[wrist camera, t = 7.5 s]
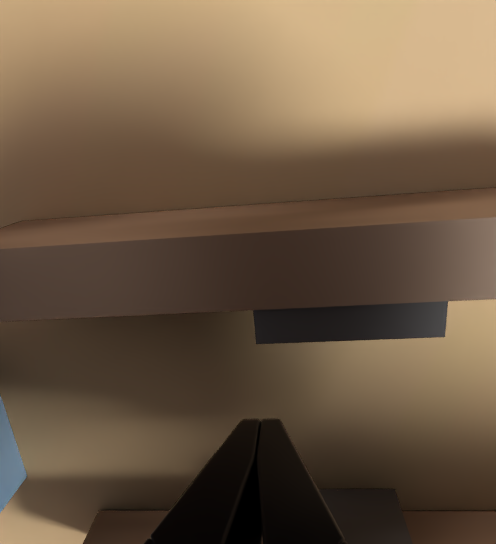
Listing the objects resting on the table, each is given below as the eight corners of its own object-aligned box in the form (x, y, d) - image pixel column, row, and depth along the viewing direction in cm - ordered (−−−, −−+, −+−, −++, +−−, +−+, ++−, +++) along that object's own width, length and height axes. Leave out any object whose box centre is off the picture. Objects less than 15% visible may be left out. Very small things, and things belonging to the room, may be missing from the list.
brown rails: (630, 178, 7) (795, 198, 5) (550, 546, 10) (629, 666, 8) (21, 221, 9) (-77, 253, 6) (106, 541, 12) (63, 646, 9)
